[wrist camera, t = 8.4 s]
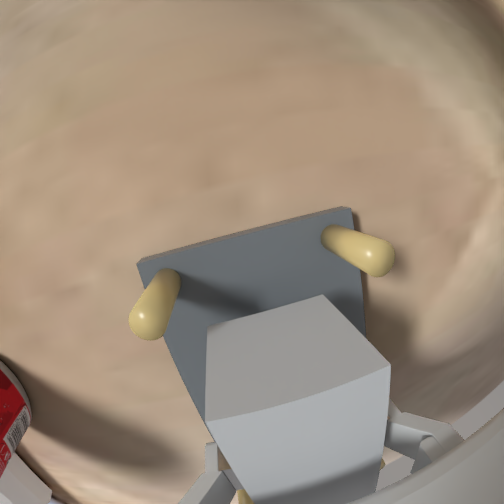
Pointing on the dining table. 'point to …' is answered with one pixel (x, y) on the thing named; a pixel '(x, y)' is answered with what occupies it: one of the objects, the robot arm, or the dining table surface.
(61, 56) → the dining table surface
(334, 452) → the grey rectangular block
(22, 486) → the white faceted prism
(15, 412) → the soda can
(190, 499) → the robot arm
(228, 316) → the tray
